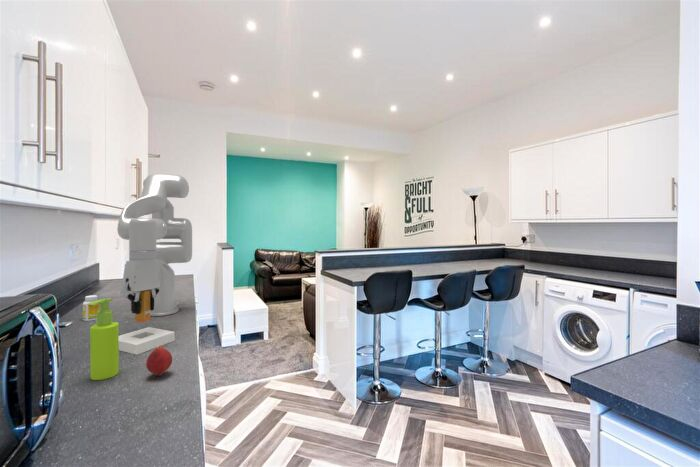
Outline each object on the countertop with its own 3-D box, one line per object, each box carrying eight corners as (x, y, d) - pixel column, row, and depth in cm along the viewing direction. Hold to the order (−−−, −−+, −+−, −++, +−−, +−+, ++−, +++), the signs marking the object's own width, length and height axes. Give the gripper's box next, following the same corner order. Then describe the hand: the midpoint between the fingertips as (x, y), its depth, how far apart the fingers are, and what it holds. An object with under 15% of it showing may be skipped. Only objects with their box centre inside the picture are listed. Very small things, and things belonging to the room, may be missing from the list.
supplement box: (151, 319, 107) (151, 289, 107) (144, 322, 103) (144, 291, 103) (141, 319, 107) (141, 289, 107) (134, 322, 103) (134, 291, 103)
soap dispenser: (80, 381, 80) (79, 302, 80) (105, 369, 87) (104, 296, 87) (101, 383, 79) (100, 303, 79) (124, 370, 86) (124, 297, 86)
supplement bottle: (79, 321, 129) (79, 297, 129) (88, 317, 134) (88, 294, 134) (94, 321, 130) (94, 297, 130) (102, 317, 135) (102, 294, 135)
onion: (160, 381, 80) (160, 350, 80) (140, 379, 82) (140, 348, 81) (177, 371, 86) (177, 342, 86) (158, 369, 87) (158, 340, 87)
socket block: (148, 335, 114) (148, 326, 114) (174, 340, 109) (174, 331, 109) (109, 348, 102) (109, 338, 102) (136, 354, 97) (136, 344, 97)
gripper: (158, 253, 114) (158, 305, 114) (108, 257, 98) (108, 316, 99) (173, 254, 111) (173, 307, 111) (124, 258, 96) (124, 319, 96)
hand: (143, 311), depth 105 cm, fingers closed on supplement box, 4 cm apart
